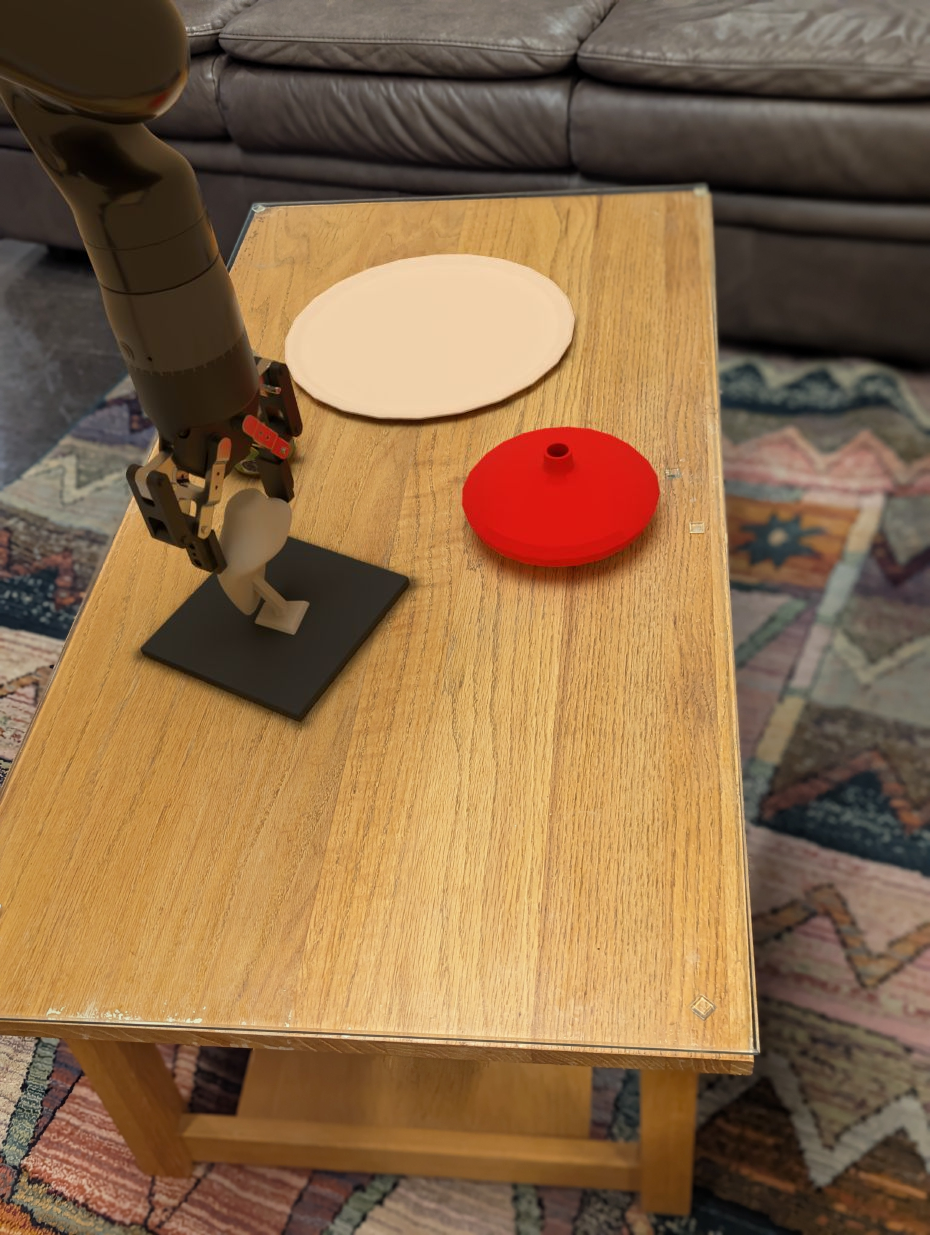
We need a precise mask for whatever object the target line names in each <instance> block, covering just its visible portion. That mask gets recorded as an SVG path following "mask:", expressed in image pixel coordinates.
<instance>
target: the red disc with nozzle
mask: <svg viewBox="0 0 930 1235" xmlns="http://www.w3.org/2000/svg"><path fill="white" fill-rule="evenodd" d="M461 489H462V490H461V491H462V492H461V506H462V510H463V512H464V515H465V517H466V521H467V523H468V524H469V526H470V527H471V529H472V530H473V532H474V533H475V534H476V536H478V538H479V539H480V540H481V542H482V543H483V544H484V545H485V546H487V547H488V548H489V549H492V550H493V551H495V552H496V553H498V554H499V555H501V556H503V557H505V558H508V559H510V560H513V561H516V562H520V563H522V564H525V565H530V566H531V565H532V566H540V567H548V568H556V567H557V568H558V567H559V568H560V567H578V566H581V565H585V564H588V563H595V562H597V561H601V560H604V559H606V558H608V557H610V556H613V555H614V554H616V553H619V552H621V551H622V550H624V549H626V548H627V547H628V546H630V545H631V544H632V543H633V542H634V541H636V540H637V539H638V538H640V536H641V535H642V534H643V532H644V531H645V529H646V528H647V527H648V525H649V524H650V523H651V521H652V519H653V517H654V516H655V512H656V511H657V507H658V503H659V500H660V495H661V490H660V483H659V477H658V474H657V473H656V471H655V469H654V468H653V466H652V465H651V463H650V461H649V459H647V458H646V457H645V456H643V454H642V453H640V452H639V451H638V450H637V449H636V448H634V447H633V446H632V445H631V444H629V443H628V442H626V441H625V440H623V439H620V438H618V437H617V436H615V435H613V434H610V433H607V432H603V431H600V430H596V429H593V428H587V427H576V426H553V427H543V428H540V429H535V430H531V431H527V432H522V433H520V434H518V435H516V436H513V437H511V438H508V439H506V440H503V441H502V442H500V443H499V444H497V445H496V446H495V447H493V448H492V449H490V450H489V451H487V452H486V453H485V454H484V455H483V456H482V457H481V458H480V460H478V462H477V463H475V465H474V467H472V469H471V470H470V471H469V472H468V475H467V477H466V479H465V481H464V484H463V486H462V488H461Z"/></svg>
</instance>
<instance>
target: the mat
mask: <svg viewBox="0 0 930 1235" xmlns="http://www.w3.org/2000/svg"><path fill="white" fill-rule="evenodd" d="M264 580H265V581H266V582H267V583H268V584H269V585H270V586H271V587H272V588H273V589H274V590H275V591H276V592H277V593H278V594H279V595H280V596H281V597H282V598H283V599H284V600H285V601H306V602H309V606H308V608H307V610H306V612H305V614H304V617H303V619H302V621H301V623H300V625H299V627H298V629H297V631H296V633H295V634H294V635H292V634H289V633H285V632H282V631H279V630H276V629H272V628H269V627H266V626H262V625H259V624H256V623H255V621H256V618H257V616H258V614H259V612H260V610H261V608H262V607H263V605H264V603H265V602H266V601H265V600H264V599H263V598H262V597H261V598H260V601H259V604H258V606H257V608H256V610H255V611H254V612H253V613H252V614H251V615H246V614H244V613H243V612H242V611H241V610H240V609H239V608H238V607H237V606H236V605H235V604H234V603H233V602H232V601H231V599H230V598H229V597H228V595H227V594H226V593H225V591H224V590H223V588H222V586H221V584H220V582H219V579H218V576H217V574H216V573H213V572H212V573H210V575H209V576H207V578H206V579H205V580H204V581H203V582H202V583H201V584H200V585H199V586H198V587H197V588H196V590H194V591H193V592H192V594H190V596H189V597H188V598H187V599H186V600H185V601H184V602H183V603H182V604H181V605H180V606H179V607H178V608H177V609H176V610H175V611H174V612H173V613H172V614H171V615H170V616H169V618H167V619H166V620H165V621H164V622H163V623H162V625H160V626H159V627H158V629H157V630H156V631H155V632H154V633H153V634H152V635H151V636H150V637H149V638H148V639H147V641H145V643H143V644H142V645H141V647H140V648H139V650H140V652H141V654H142V655H143V656H144V657H147V658H149V659H152V660H154V661H157V662H159V663H161V664H164V665H166V666H168V667H170V668H173V669H174V670H178V671H180V672H182V673H185V674H187V675H190V676H192V677H195V678H197V679H199V680H200V681H204V682H206V683H209V684H211V685H213V686H215V687H218V688H220V689H222V690H225V691H227V692H230V693H232V694H235V695H236V696H239V697H242V698H243V699H246V700H249V701H251V702H252V703H256V704H258V705H260V706H262V707H264V708H268V709H269V710H272V711H275V712H277V713H279V714H281V715H284V716H286V717H288V718H291V719H293V720H296V721H297V722H301V721H302V720H303V718H304V717H305V716H306V715H307V714H308V713H309V711H310V710H311V708H312V707H313V706H314V705H315V703H316V702H317V701H318V700H319V699H320V697H321V696H322V695H323V694H324V692H325V691H326V690H327V689H328V687H329V686H330V685H331V683H332V682H333V681H334V680H335V678H336V677H337V676H338V675H339V674H340V672H341V671H342V670H343V668H344V667H345V666H346V664H347V663H348V662H349V661H350V660H351V658H353V656H354V655H355V653H356V652H357V651H358V650H359V648H360V647H361V646H362V644H364V643H365V641H366V640H367V638H368V637H369V636H370V635H371V634H372V633H373V630H375V629H376V627H377V626H378V625H379V624H380V622H381V621H382V619H383V618H384V617H385V616H386V615H387V613H388V612H389V611H390V609H391V608H392V607H393V605H395V603H397V601H398V600H399V598H400V597H401V596H402V595H403V593H404V592H405V591H406V589H407V588H408V587H409V585H410V584H411V582H410V578H409V576H406V575H404V574H401V573H399V572H395V571H393V570H389V569H387V568H383V567H380V566H377V565H375V564H371V563H369V562H366V561H363V560H359V559H357V558H354V557H351V556H348V555H345V554H342V553H340V552H336V551H333V550H331V549H328V548H325V547H322V546H318V545H316V544H312V543H310V542H307V541H305V540H304V541H303V540H301V539H298V538H295V537H292V536H290V535H288V537H287V540H286V542H285V544H284V546H283V547H282V548H281V550H280V551H279V552H278V553H277V554H276V555H275V556H274V557H273V558H272V559H270V560H269V561H268V562H267V563H266V568H265V577H264Z"/></svg>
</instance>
